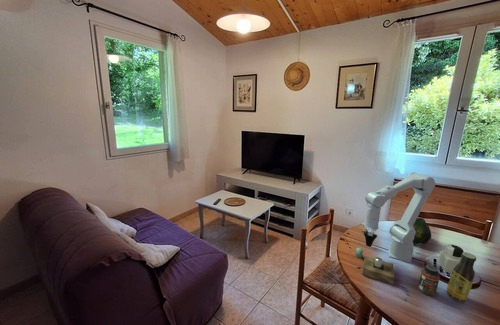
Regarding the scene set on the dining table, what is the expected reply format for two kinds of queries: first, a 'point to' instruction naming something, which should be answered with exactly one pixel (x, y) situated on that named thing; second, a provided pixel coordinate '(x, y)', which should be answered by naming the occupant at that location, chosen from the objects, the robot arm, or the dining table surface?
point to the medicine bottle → (450, 257)
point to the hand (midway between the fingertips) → (368, 242)
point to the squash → (421, 231)
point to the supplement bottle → (429, 280)
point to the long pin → (378, 263)
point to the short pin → (359, 252)
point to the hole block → (378, 270)
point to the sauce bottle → (462, 278)
